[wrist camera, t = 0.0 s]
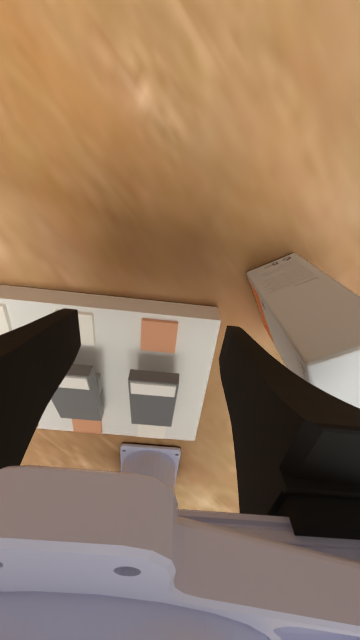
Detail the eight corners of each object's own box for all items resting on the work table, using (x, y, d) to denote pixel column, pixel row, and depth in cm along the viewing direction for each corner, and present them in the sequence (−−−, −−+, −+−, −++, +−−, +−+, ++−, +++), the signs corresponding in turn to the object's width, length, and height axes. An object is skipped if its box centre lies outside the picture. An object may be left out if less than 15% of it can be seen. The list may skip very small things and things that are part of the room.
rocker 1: (104, 411, 25) (101, 422, 24) (64, 408, 25) (60, 419, 24) (92, 365, 20) (88, 378, 19) (42, 361, 19) (35, 373, 19)
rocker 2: (171, 417, 25) (171, 428, 25) (133, 414, 25) (131, 425, 24) (179, 373, 20) (178, 386, 19) (130, 369, 20) (127, 381, 19)
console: (193, 422, 30) (194, 448, 27) (-6, 405, 29) (-27, 430, 26) (217, 306, 22) (222, 326, 19) (-54, 279, 21) (-92, 294, 18)
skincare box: (243, 271, 21) (304, 363, 10) (294, 250, 20) (418, 327, 9) (262, 327, 23) (326, 444, 13) (308, 311, 22) (415, 423, 12)
